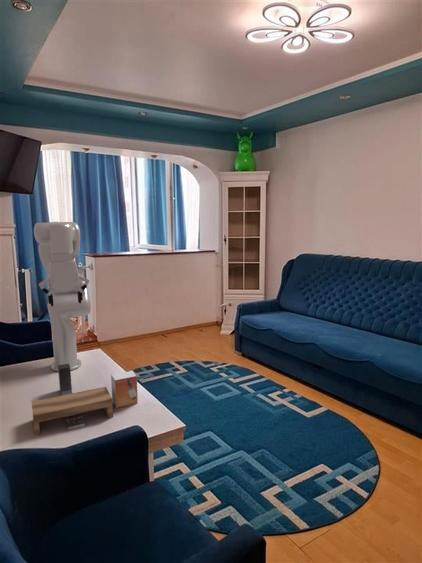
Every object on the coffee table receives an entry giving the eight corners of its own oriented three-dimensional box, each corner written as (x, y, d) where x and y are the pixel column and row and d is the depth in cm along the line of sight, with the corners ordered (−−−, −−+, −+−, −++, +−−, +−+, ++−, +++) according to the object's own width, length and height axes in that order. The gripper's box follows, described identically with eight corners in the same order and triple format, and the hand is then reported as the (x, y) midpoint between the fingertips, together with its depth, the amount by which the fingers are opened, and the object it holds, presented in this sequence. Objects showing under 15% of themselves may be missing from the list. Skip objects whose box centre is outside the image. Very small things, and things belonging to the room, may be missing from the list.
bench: (33, 419, 130) (31, 401, 129) (106, 403, 140) (105, 386, 139) (34, 435, 121) (32, 415, 120) (113, 416, 131) (112, 398, 130)
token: (66, 424, 128) (65, 419, 128) (82, 420, 130) (81, 416, 130) (68, 432, 123) (67, 427, 123) (84, 428, 126) (84, 423, 125)
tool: (59, 390, 151) (57, 365, 149) (70, 387, 153) (68, 363, 151) (66, 416, 132) (64, 389, 130) (78, 414, 133) (76, 386, 131)
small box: (115, 408, 137) (114, 380, 135) (111, 401, 142) (110, 374, 140) (138, 403, 140) (137, 375, 138) (133, 396, 145) (132, 370, 143)
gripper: (85, 255, 149) (88, 299, 152) (35, 258, 142) (39, 304, 145) (89, 257, 143) (92, 303, 146) (37, 260, 135) (41, 308, 138)
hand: (66, 304), depth 145 cm, fingers open, 9 cm apart
